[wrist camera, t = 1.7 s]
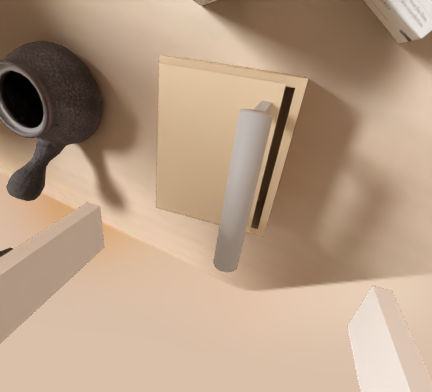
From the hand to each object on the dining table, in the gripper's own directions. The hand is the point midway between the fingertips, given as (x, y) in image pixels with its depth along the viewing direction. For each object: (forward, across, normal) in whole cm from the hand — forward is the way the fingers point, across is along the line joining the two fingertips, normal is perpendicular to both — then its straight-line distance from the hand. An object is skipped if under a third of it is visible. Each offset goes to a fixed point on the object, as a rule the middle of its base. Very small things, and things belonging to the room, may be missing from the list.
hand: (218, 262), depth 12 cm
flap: (+14, -5, 0) cm, 15 cm away
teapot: (+21, -29, -2) cm, 36 cm away
